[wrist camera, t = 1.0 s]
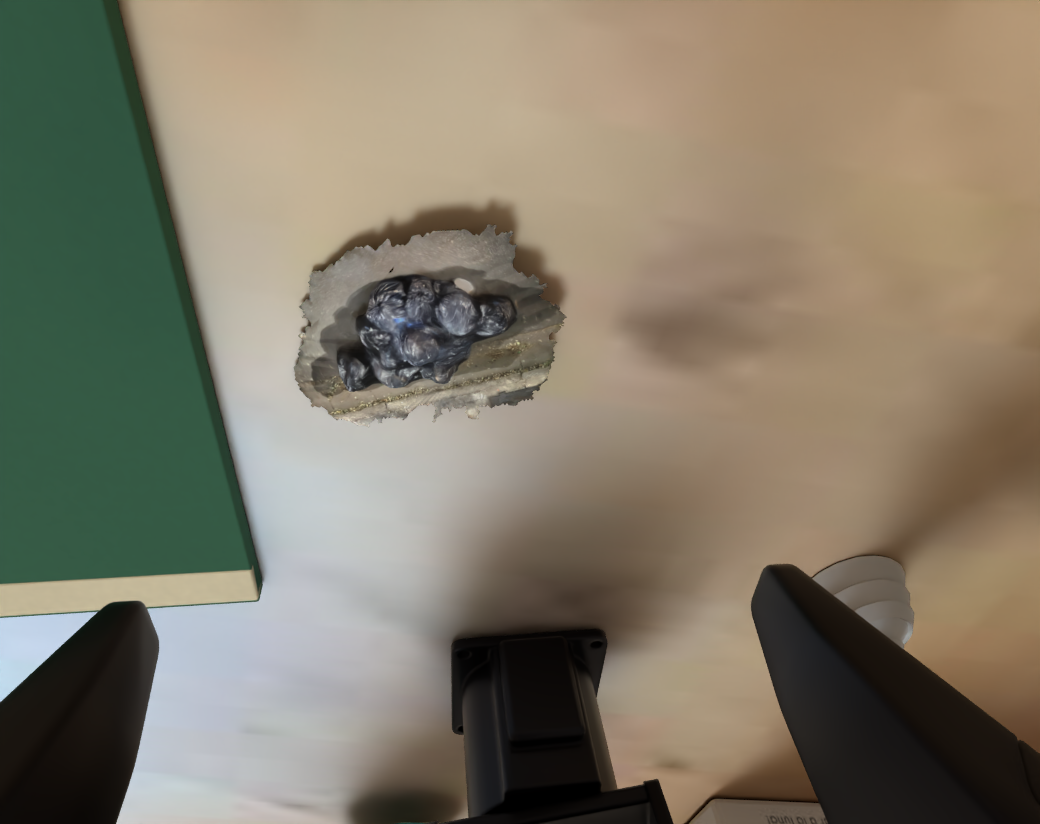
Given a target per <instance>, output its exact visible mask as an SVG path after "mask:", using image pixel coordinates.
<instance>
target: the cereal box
mask: <svg viewBox="0 0 1040 824" xmlns="http://www.w3.org/2000/svg"><path fill="white" fill-rule="evenodd" d="M689 824H828V823H827V820H826V818H825V815H824V813H823V811H822V808H821V806H820V803H801V802H778V801H755V800H731V799H713V800H712V801H710V802H709V803H708V804H707V805H706V806H705V807H704V808H703V809H702V810H701V811H700V812H699V814H698V815H697V816H696V817H695V818H694V819H693V820H692V821H691V822H690V823H689Z"/></svg>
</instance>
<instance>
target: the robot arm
mask: <svg viewBox="0 0 1040 824" xmlns="http://www.w3.org/2000/svg"><path fill="white" fill-rule="evenodd" d="M751 611H752V616H753V620H754V623H755V626H756V630H757V633H758V636H759V640H760V643H761V647H762V650H763V653H764V657H765V660H766V663H767V667H768V670H769V673H770V677H771V680H772V683H773V687H774V690H775V693H776V696H777V699H778V702H779V705H780V709H781V711H782V714H783V716H784V719H785V721H786V724H787V726H788V729H789V731H790V734H791V736H792V738H793V741H794V743H795V746H796V748H797V750H798V753H799V755H800V758H801V760H802V762H803V765H804V767H805V770H806V772H807V774H808V777H809V779H810V782H811V784H812V786H813V789H814V791H815V794H816V796H817V798H818V801H819V803H820V806H821V808H822V811H823V813H824V815H825V818H826V820H827V823H828V824H1040V754H1039V753H1038V752H1036V751H1035V750H1034V749H1032V748H1031V747H1030V746H1029V745H1027V744H1026V743H1025V742H1023V741H1021V740H1017V737H1016V736H1015V735H1014V734H1013V733H1011V732H1010V731H1009V730H1008V729H1006V728H1005V727H1004V726H1002V725H1001V724H1000V723H999V722H997V721H996V720H995V719H993V718H992V717H991V716H989V715H988V714H987V713H986V712H984V711H983V710H982V709H980V708H979V707H978V706H976V705H975V704H974V703H973V702H971V701H970V700H969V699H967V698H966V697H965V696H964V695H962V694H961V693H960V692H958V691H957V690H956V689H954V688H953V687H952V686H951V685H949V684H948V683H947V682H945V681H944V680H943V679H941V678H940V677H939V676H938V675H936V674H935V673H934V672H932V671H931V670H930V669H929V668H927V667H926V666H925V665H923V664H922V663H921V662H919V661H918V660H917V659H916V658H914V657H913V656H912V655H910V654H909V653H908V652H906V651H905V650H904V649H903V648H901V647H900V646H899V645H897V644H896V643H895V642H894V641H892V640H891V639H890V638H888V637H887V636H886V635H884V634H883V633H882V632H881V631H879V630H878V629H877V628H875V627H874V626H873V625H871V624H870V623H869V622H868V621H866V620H865V619H864V618H862V617H861V616H860V615H859V614H857V613H856V612H855V611H853V610H852V609H851V608H849V607H848V606H847V605H846V604H844V603H843V602H842V601H840V600H839V599H838V598H836V597H835V596H834V595H833V594H831V593H830V592H829V591H827V590H826V589H825V588H824V587H822V586H821V585H820V584H818V583H817V582H816V581H814V580H813V579H812V578H811V577H809V576H808V575H807V574H805V573H804V572H803V571H801V570H800V569H799V568H797V567H796V566H794V565H792V564H775V565H767V566H766V567H765V568H764V569H763V571H762V573H761V576H760V579H759V581H758V584H757V587H756V589H755V592H754V594H753V597H752V601H751ZM607 644H608V643H607V638H606V634H605V632H604V631H603V630H600V629H590V630H577V631H563V632H549V633H536V634H522V635H508V636H495V637H481V638H468V639H460V640H457V641H455V642H454V643H453V644H452V646H451V684H452V730H453V732H454V733H455V734H459V735H464V749H465V766H466V783H467V800H468V817H469V818H465V819H460V820H454V821H449V822H444V823H439V821H434V822H429V823H424V824H673V821H672V818H671V815H670V812H669V809H668V806H667V804H666V801H665V798H664V795H663V792H662V789H661V786H660V783H659V781H658V779H654V780H649V781H644V782H643V785H638V786H632V787H627V788H622V789H617V784H616V780H615V776H614V772H613V767H612V763H611V759H610V755H609V750H608V746H607V742H606V738H605V733H604V729H603V725H602V721H601V716H600V712H599V708H598V704H597V699H596V697H597V693H598V688H599V683H600V678H601V673H602V669H603V664H604V659H605V654H606V649H607ZM158 654H159V640H158V636H157V633H156V631H155V628H154V625H153V623H152V620H151V618H150V615H149V613H148V610H147V608H146V606H145V604H144V603H143V602H141V601H137V600H136V601H119V602H111V603H109V604H107V605H106V606H104V607H103V608H102V609H101V610H100V611H99V612H97V613H96V614H95V615H94V616H93V617H92V618H91V619H90V620H89V621H88V622H87V623H86V624H85V625H83V626H82V627H81V628H80V629H79V630H78V631H77V632H76V633H75V634H74V635H73V636H72V637H70V638H69V639H68V640H67V641H66V642H65V643H64V644H63V645H62V646H61V647H60V648H59V649H57V650H56V651H55V652H54V653H53V654H52V655H51V656H50V657H49V658H48V659H47V660H46V661H45V662H43V663H42V664H41V665H40V666H39V667H38V668H37V669H36V670H35V671H34V672H33V673H32V674H30V675H29V676H28V677H27V678H26V679H25V680H24V681H23V682H22V683H21V684H20V685H19V686H17V687H16V688H15V689H14V690H13V691H12V692H11V693H10V694H9V695H8V696H7V697H6V698H5V699H3V700H2V701H1V702H0V824H116V822H117V819H118V816H119V813H120V810H121V807H122V804H123V801H124V798H125V795H126V792H127V789H128V786H129V783H130V779H131V776H132V773H133V769H134V766H135V762H136V758H137V753H138V749H139V745H140V740H141V735H142V730H143V726H144V721H145V716H146V711H147V707H148V702H149V697H150V692H151V688H152V683H153V678H154V673H155V669H156V664H157V659H158Z"/></svg>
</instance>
